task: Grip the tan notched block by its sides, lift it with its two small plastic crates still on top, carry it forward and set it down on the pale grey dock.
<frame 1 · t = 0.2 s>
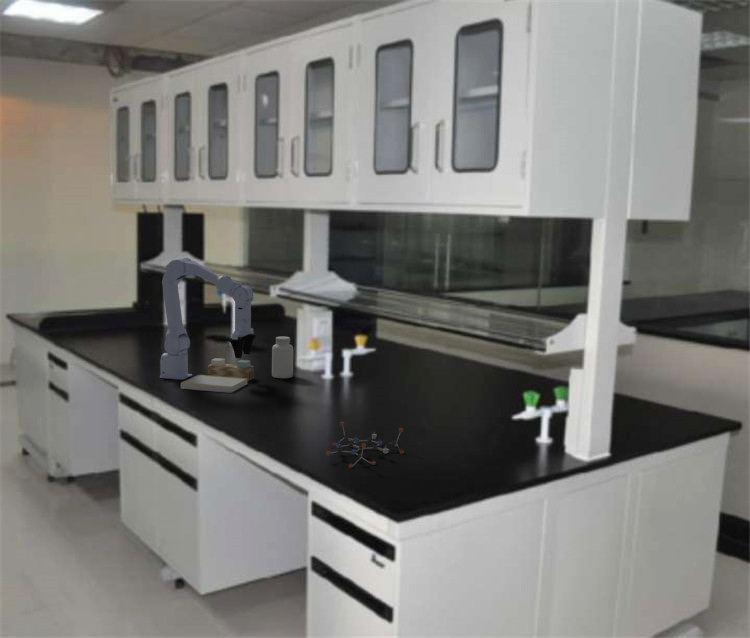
hand: (242, 356, 293), 9 cm above the worktop, tool pointing down, fingers open, 7 cm apart
crate b: (243, 366, 297), point 5 cm above the worktop
molecular model: (359, 454, 215), on the worktop
tan notched block: (230, 378, 299), on the worktop, touching crate a
pill bottle: (282, 377, 304), on the worktop
dock: (214, 386, 286), on the worktop
crate a: (218, 364, 300), point 5 cm above the worktop, touching tan notched block
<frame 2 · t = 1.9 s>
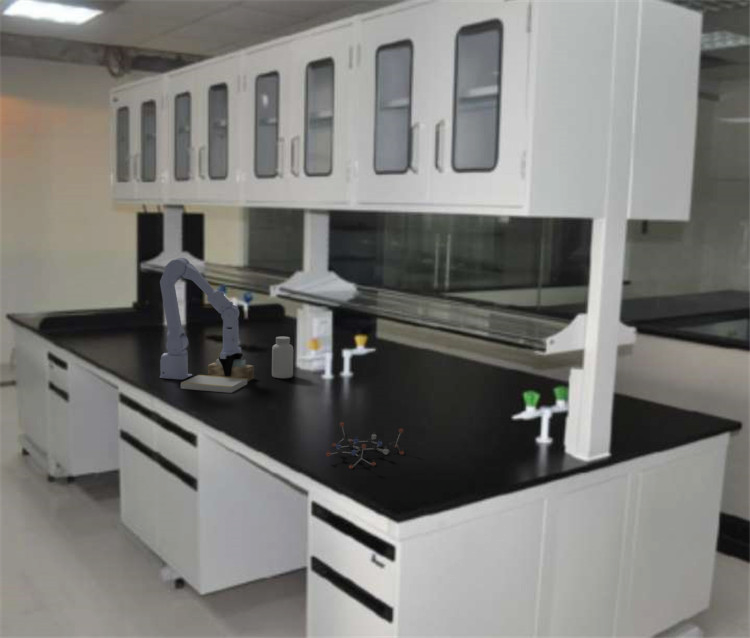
hand: (230, 374, 299), 1 cm above the worktop, tool pointing down, fingers closed on tan notched block, 5 cm apart
crate b: (238, 365, 298), point 5 cm above the worktop, touching tan notched block
tan notched block: (230, 378, 299), on the worktop, touching crate a, crate b, gripper
crate a: (222, 364, 299), point 5 cm above the worktop, touching tan notched block
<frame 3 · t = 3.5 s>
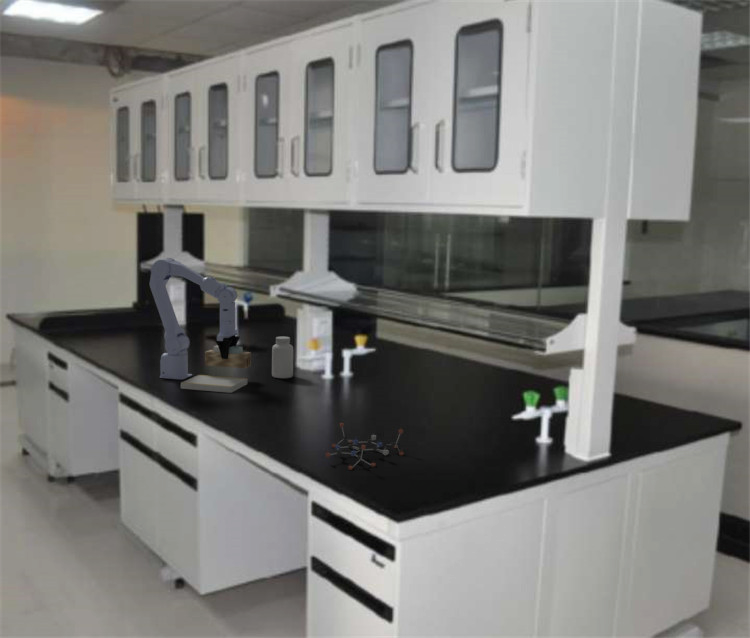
hand: (227, 357, 296), 8 cm above the worktop, tool pointing down, fingers closed on tan notched block, 5 cm apart
crate b: (235, 352, 295), point 10 cm above the worktop, touching tan notched block
tan notched block: (228, 365, 296), point 5 cm above the worktop, touching crate a, crate b, gripper
crate a: (220, 351, 296), point 10 cm above the worktop, touching tan notched block
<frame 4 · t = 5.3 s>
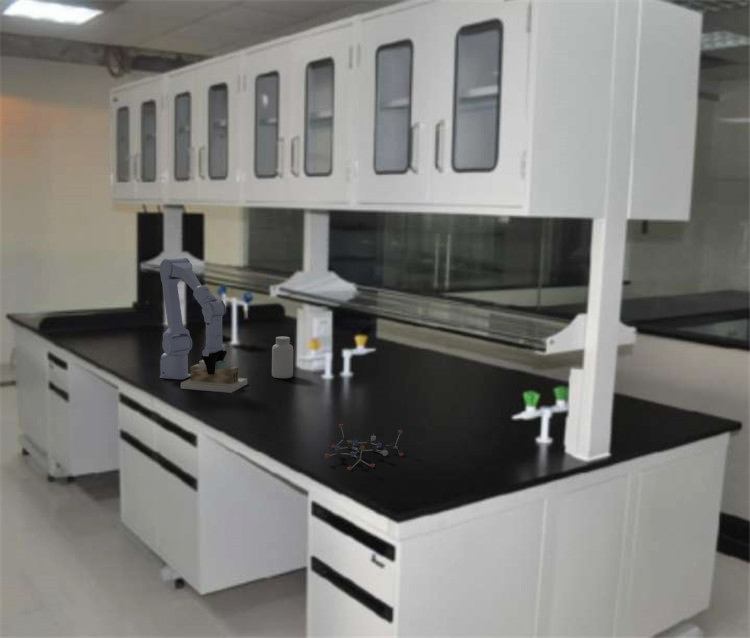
hand: (214, 372, 285), 5 cm above the worktop, tool pointing down, fingers closed on tan notched block, 5 cm apart
crate b: (222, 367, 284), point 7 cm above the worktop, touching tan notched block
tan notched block: (214, 380, 286), point 2 cm above the worktop, touching crate a, crate b, dock, gripper
crate a: (206, 366, 286), point 7 cm above the worktop, touching tan notched block
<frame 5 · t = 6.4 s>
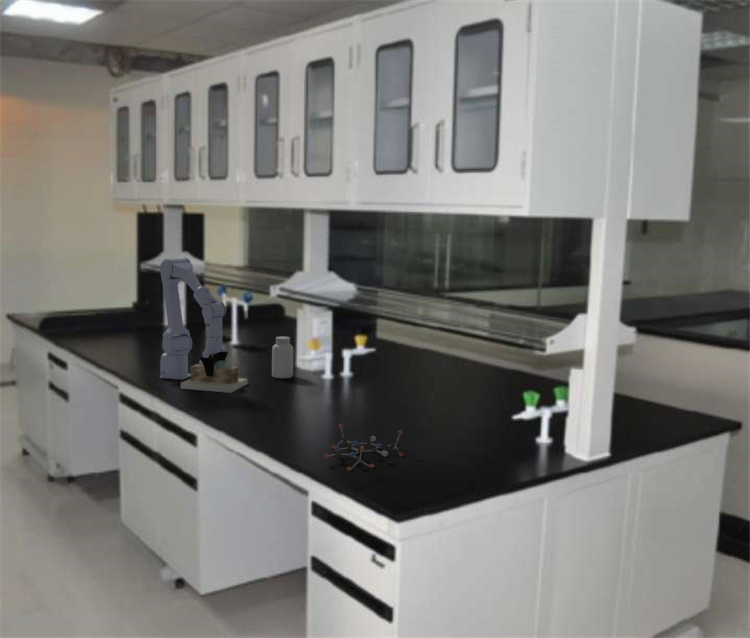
hand: (214, 374, 285), 4 cm above the worktop, tool pointing down, fingers open, 7 cm apart
tan notched block: (214, 380, 286), point 2 cm above the worktop, touching crate a, crate b, dock
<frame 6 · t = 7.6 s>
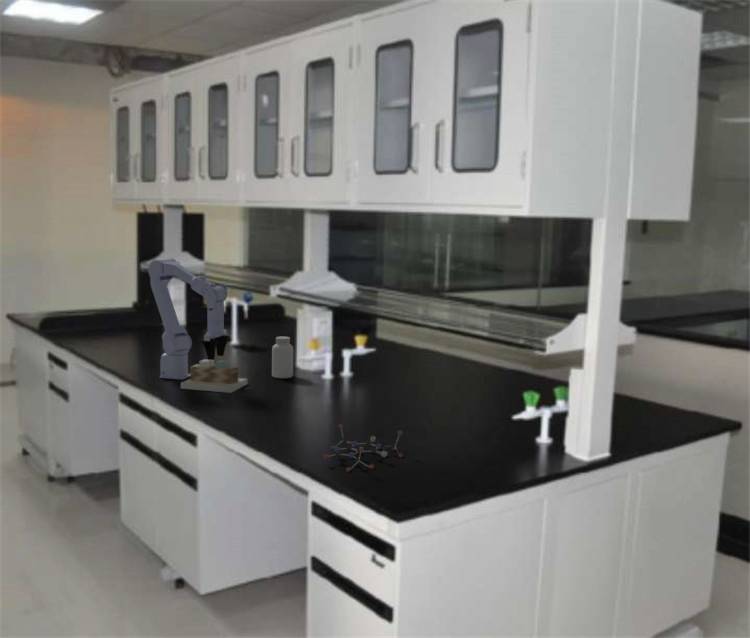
hand: (215, 357, 290), 9 cm above the worktop, tool pointing down, fingers open, 7 cm apart
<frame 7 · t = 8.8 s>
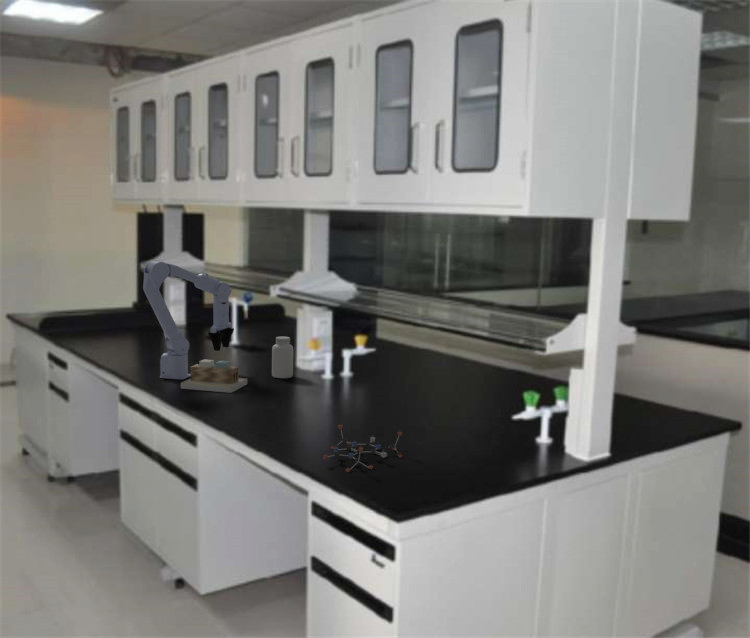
hand: (221, 348, 306), 9 cm above the worktop, tool pointing down, fingers open, 7 cm apart
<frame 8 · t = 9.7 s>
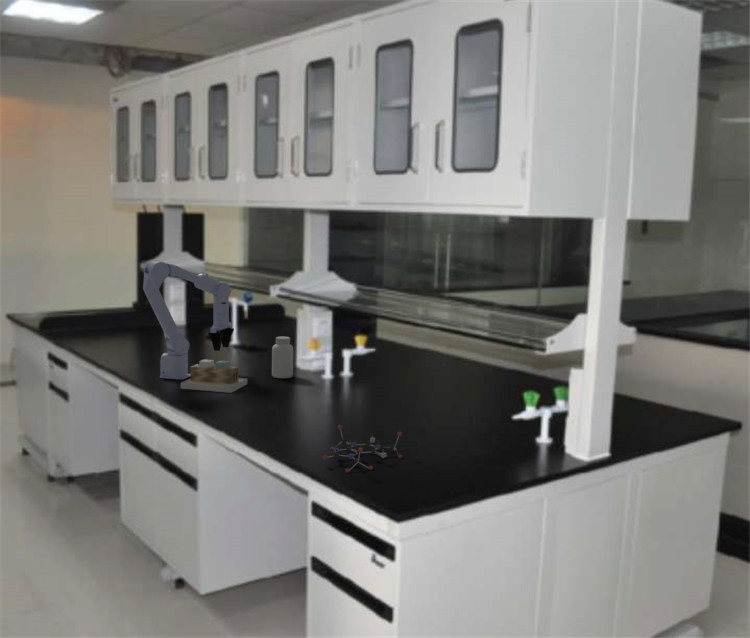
hand: (221, 348, 306), 9 cm above the worktop, tool pointing down, fingers open, 7 cm apart
at the end: tan notched block inside the target area on the dock (0.0 cm from its centre), point 2.0 cm above the dock's base; crate a point 7.0 cm above the worktop; crate b point 7.0 cm above the worktop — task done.
